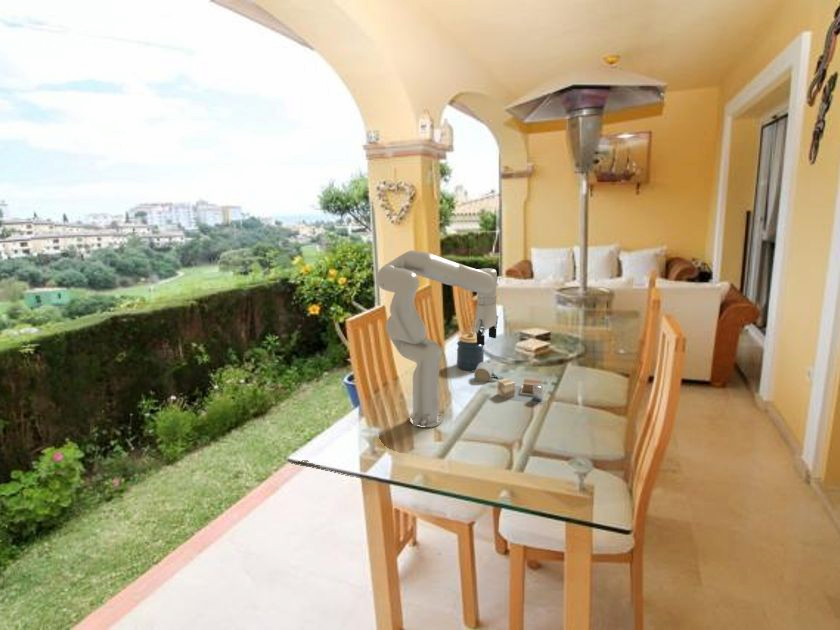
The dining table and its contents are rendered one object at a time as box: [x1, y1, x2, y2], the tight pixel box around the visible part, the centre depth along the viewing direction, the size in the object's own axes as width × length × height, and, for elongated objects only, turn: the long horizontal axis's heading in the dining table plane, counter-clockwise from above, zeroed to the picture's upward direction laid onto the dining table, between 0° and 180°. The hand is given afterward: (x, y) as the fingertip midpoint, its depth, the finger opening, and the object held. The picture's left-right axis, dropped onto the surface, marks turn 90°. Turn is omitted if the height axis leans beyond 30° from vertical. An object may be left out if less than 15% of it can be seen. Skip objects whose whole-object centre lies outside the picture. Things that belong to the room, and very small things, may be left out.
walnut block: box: [522, 377, 543, 394], centre depth 204 cm, size 7×7×4 cm
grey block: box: [532, 384, 544, 402], centre depth 195 cm, size 4×4×6 cm
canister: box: [456, 331, 485, 372], centre depth 233 cm, size 13×13×18 cm
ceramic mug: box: [474, 361, 498, 383], centre depth 217 cm, size 11×8×8 cm
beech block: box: [496, 378, 516, 400], centre depth 200 cm, size 5×5×6 cm
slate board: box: [496, 386, 545, 405], centre depth 203 cm, size 18×18×1 cm
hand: (486, 340), depth 196 cm, fingers open, 9 cm apart
